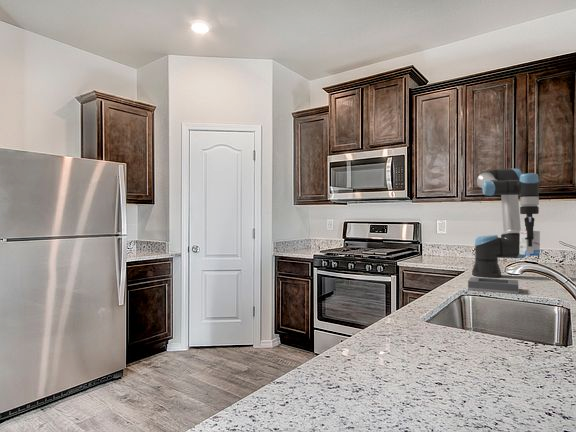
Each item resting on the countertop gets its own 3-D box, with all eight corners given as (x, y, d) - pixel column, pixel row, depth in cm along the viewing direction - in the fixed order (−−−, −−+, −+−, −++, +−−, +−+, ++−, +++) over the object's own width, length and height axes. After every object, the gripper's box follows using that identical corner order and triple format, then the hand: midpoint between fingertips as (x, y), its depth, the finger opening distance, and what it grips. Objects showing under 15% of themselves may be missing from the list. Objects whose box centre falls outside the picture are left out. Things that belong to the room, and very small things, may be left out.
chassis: (470, 285, 187) (470, 277, 187) (517, 288, 177) (517, 280, 177) (468, 289, 175) (468, 281, 175) (518, 293, 165) (518, 284, 165)
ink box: (540, 255, 175) (540, 230, 175) (529, 256, 175) (529, 230, 175) (529, 254, 184) (529, 229, 184) (518, 254, 184) (518, 230, 184)
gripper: (519, 206, 191) (519, 250, 191) (520, 205, 172) (520, 254, 172) (537, 206, 187) (537, 251, 187) (540, 205, 168) (540, 255, 168)
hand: (529, 252), depth 180 cm, fingers closed on ink box, 10 cm apart
